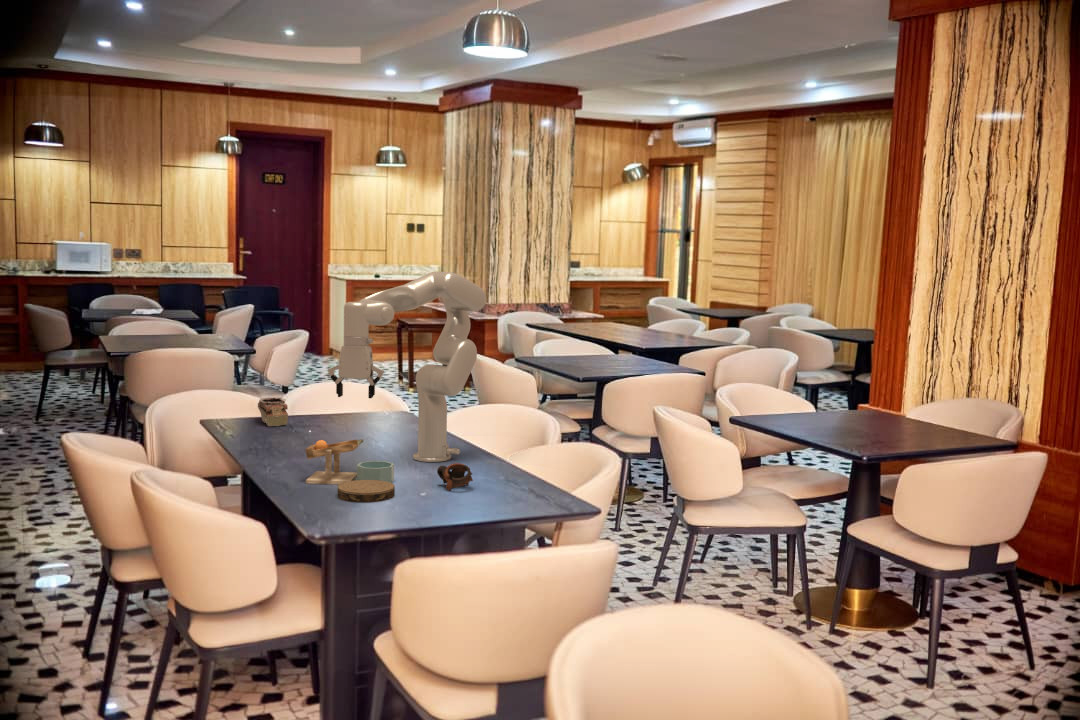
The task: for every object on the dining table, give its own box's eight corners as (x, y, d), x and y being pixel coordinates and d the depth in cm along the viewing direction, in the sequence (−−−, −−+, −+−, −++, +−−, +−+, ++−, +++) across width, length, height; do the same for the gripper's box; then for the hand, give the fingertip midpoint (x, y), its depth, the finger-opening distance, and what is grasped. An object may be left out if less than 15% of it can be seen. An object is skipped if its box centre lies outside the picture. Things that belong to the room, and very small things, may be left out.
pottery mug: (478, 487, 299) (479, 466, 294) (462, 506, 292) (462, 486, 287) (444, 472, 303) (444, 452, 298) (427, 491, 296) (426, 471, 292)
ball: (330, 449, 303) (326, 437, 302) (327, 451, 299) (323, 439, 299) (318, 452, 303) (315, 440, 303) (315, 454, 299) (312, 443, 299)
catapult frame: (358, 475, 308) (358, 443, 306) (349, 484, 296) (349, 451, 295) (316, 474, 308) (316, 442, 307) (305, 483, 296) (305, 449, 295)
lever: (364, 442, 312) (362, 432, 312) (352, 452, 296) (350, 441, 296) (320, 449, 313) (318, 439, 313) (307, 460, 297) (304, 449, 297)
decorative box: (253, 428, 383) (253, 403, 382) (249, 419, 402) (249, 395, 401) (288, 427, 388) (288, 402, 387) (283, 418, 406) (283, 395, 405)
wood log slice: (370, 506, 273) (370, 495, 272) (325, 498, 280) (325, 487, 280) (405, 495, 287) (406, 484, 286) (362, 487, 294) (362, 477, 294)
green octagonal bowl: (395, 477, 306) (395, 461, 306) (389, 485, 296) (389, 468, 295) (362, 476, 307) (362, 460, 306) (354, 484, 296) (354, 467, 296)
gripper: (386, 342, 311) (385, 396, 313) (331, 340, 313) (331, 394, 314) (380, 344, 304) (380, 400, 306) (324, 342, 305) (324, 397, 307)
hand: (355, 397), depth 310 cm, fingers open, 9 cm apart
